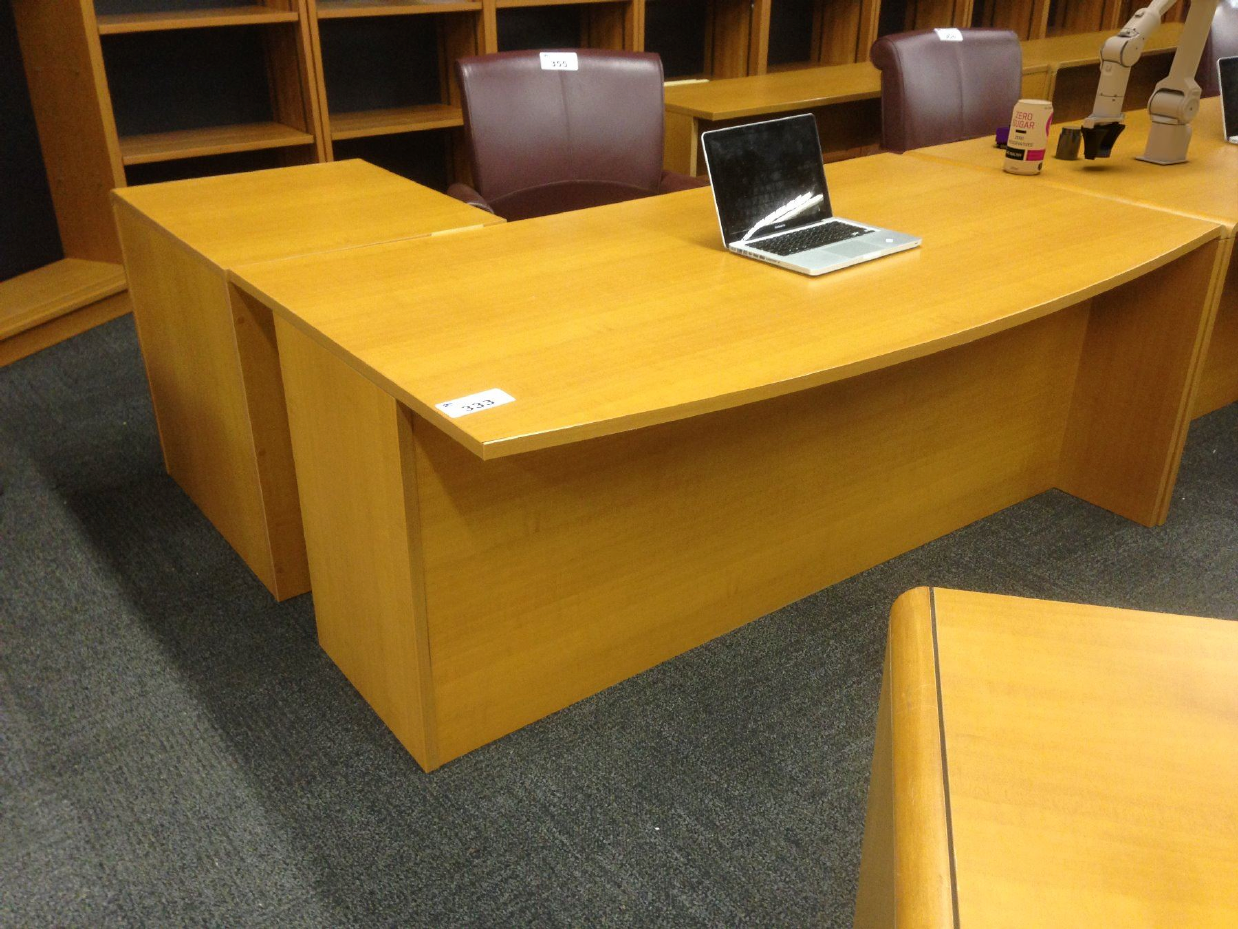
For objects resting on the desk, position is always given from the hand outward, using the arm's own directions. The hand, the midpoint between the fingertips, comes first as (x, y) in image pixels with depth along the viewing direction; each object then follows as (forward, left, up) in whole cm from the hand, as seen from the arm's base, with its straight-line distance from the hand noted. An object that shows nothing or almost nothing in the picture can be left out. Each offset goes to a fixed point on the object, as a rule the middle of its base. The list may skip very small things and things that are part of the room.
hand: (1096, 157), depth 238 cm
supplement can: (+18, -5, -3) cm, 19 cm away
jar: (-4, -11, -2) cm, 12 cm away
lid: (0, 0, +2) cm, 2 cm away
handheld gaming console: (-6, -27, -3) cm, 28 cm away
